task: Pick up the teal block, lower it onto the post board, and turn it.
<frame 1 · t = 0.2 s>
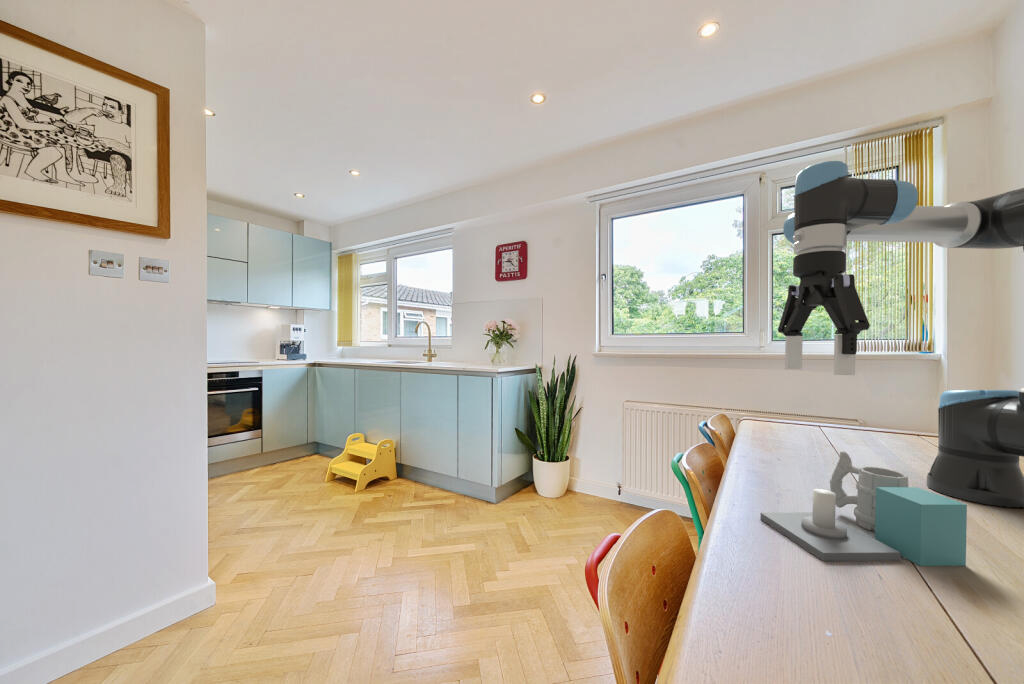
hand: (816, 372, 72), 27 cm above the table, fingers open, 13 cm apart
post board: (823, 537, 67), on the table
teal block: (917, 553, 62), on the table
mug: (867, 523, 73), on the table
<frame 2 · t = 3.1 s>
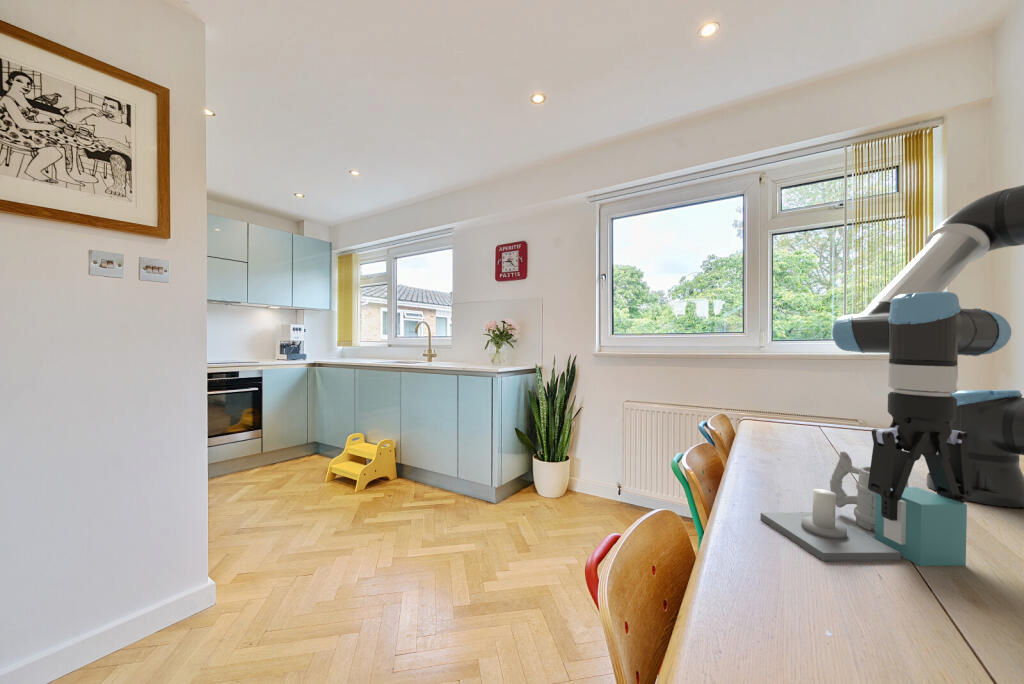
hand: (918, 539, 62), 2 cm above the table, fingers closed on teal block, 7 cm apart
teal block: (917, 553, 62), on the table, touching gripper
everything else where it was.
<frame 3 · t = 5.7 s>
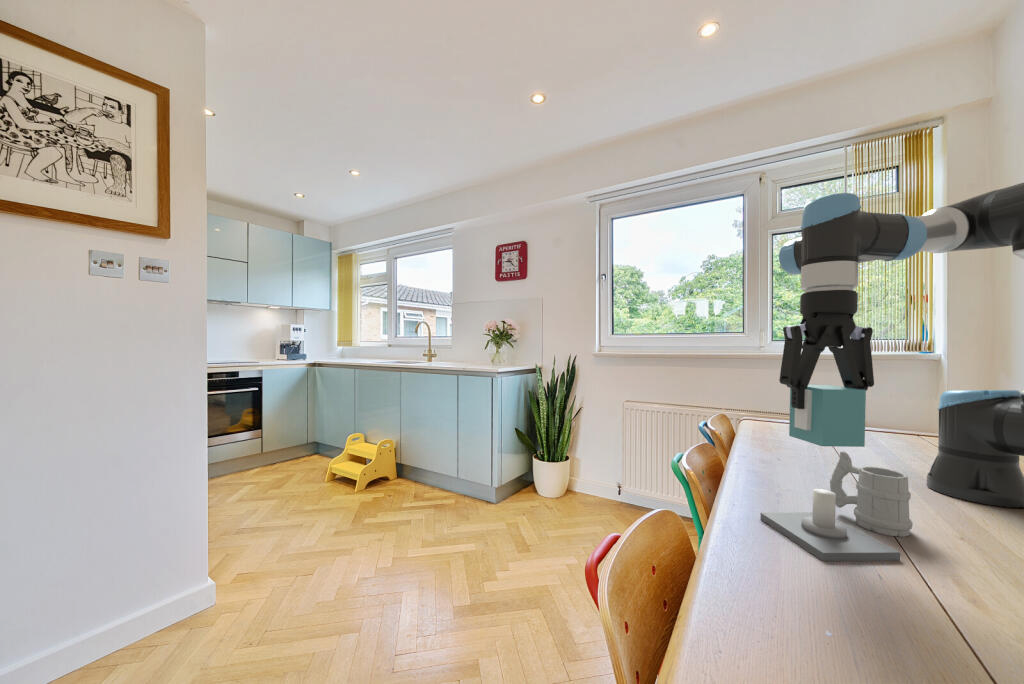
hand: (825, 428, 67), 18 cm above the table, fingers closed on teal block, 7 cm apart
teal block: (825, 441, 67), point 16 cm above the table, touching gripper
everything else where it was.
when the fingers open (5 cm above the table, at t = 8.6 s): teal block stays where it is, resting on post board.
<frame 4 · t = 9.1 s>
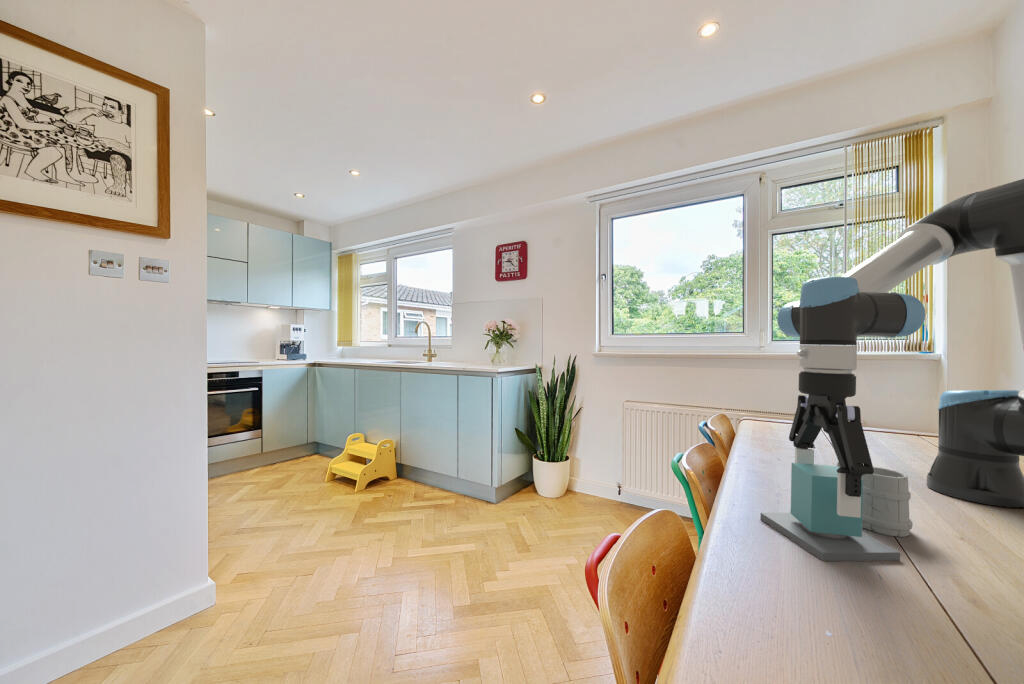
hand: (824, 498, 67), 6 cm above the table, fingers open, 13 cm apart
teal block: (824, 524, 67), point 2 cm above the table, touching post board
everything else where it was.
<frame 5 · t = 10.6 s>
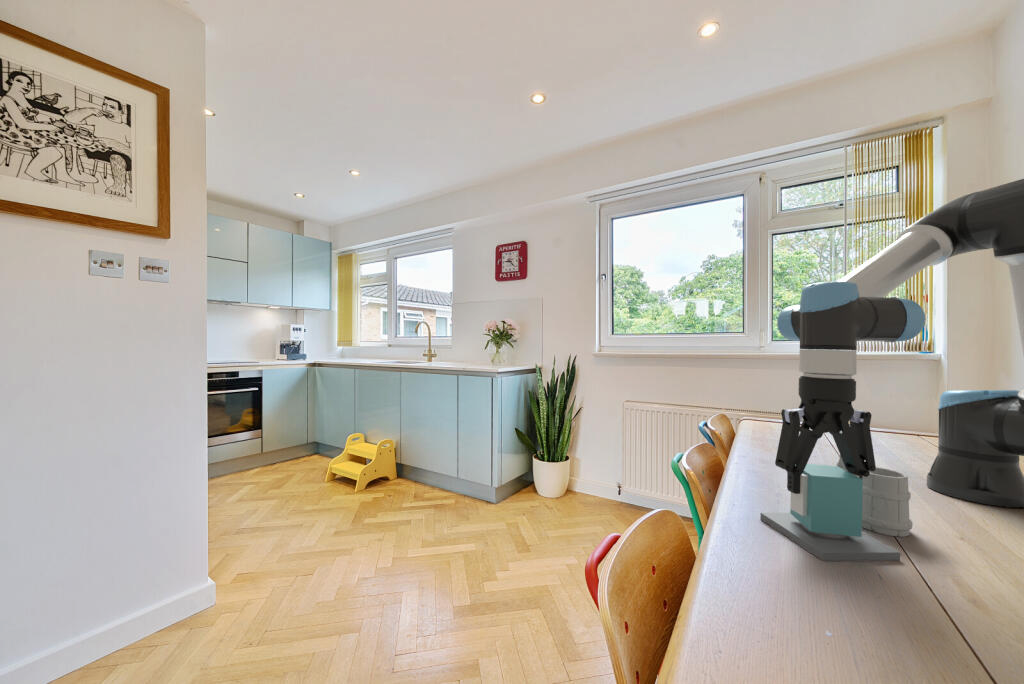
hand: (824, 512, 67), 4 cm above the table, fingers closed on teal block, 8 cm apart
teal block: (823, 524, 67), point 2 cm above the table, touching gripper, post board
everything else where it was.
when the fingers open (5 cm above the table, at t = 11.7 s): teal block drops 1 cm, resting on post board.
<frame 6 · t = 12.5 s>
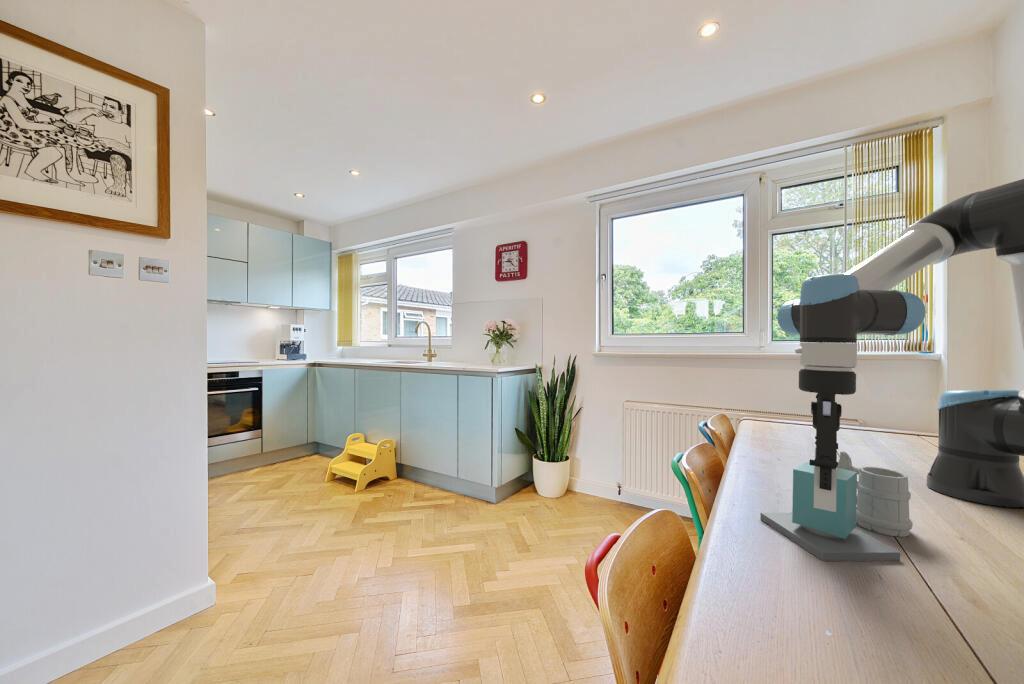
hand: (824, 496, 67), 7 cm above the table, fingers open, 13 cm apart
teal block: (823, 524, 67), point 2 cm above the table, touching post board
everything else where it was.
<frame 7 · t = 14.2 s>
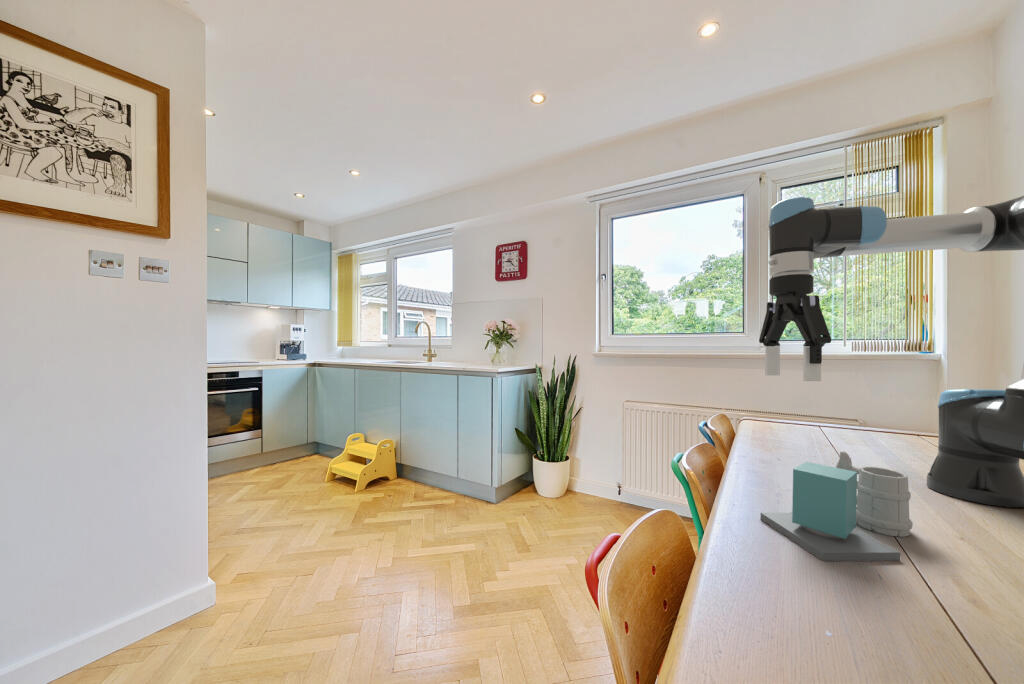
hand: (790, 378, 83), 25 cm above the table, fingers open, 13 cm apart
nothing on the table moved.
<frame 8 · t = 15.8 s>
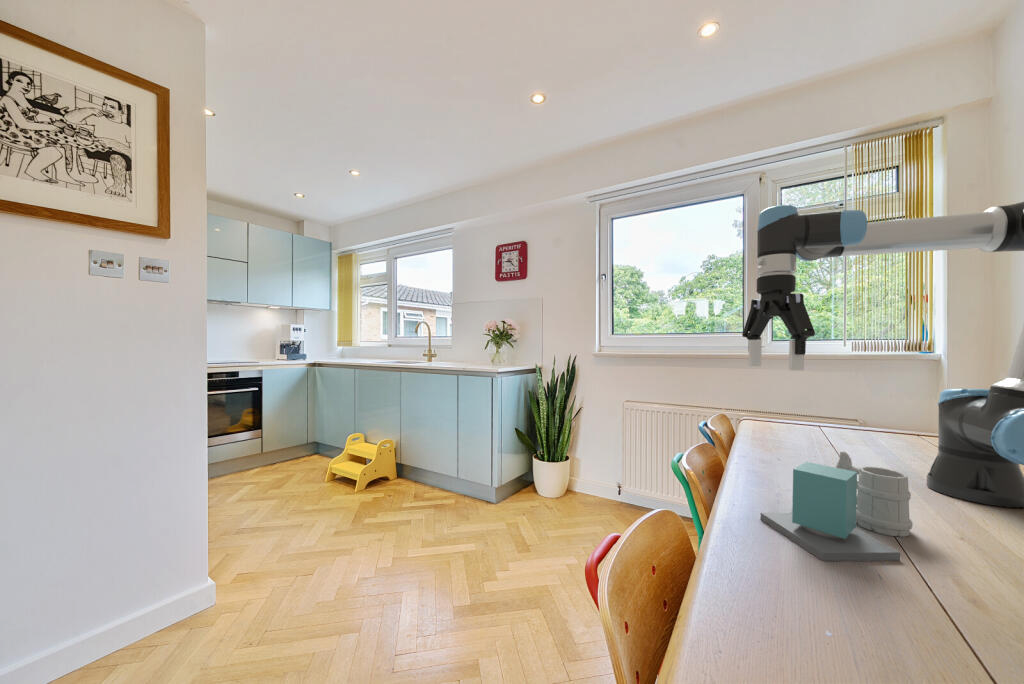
hand: (774, 368, 92), 27 cm above the table, fingers open, 13 cm apart
nothing on the table moved.
at the end: teal block 0.1 cm off-centre on the post board, point 2.2 cm above the post board's base; teal block tilted 0°; the gripper is holding nothing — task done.
